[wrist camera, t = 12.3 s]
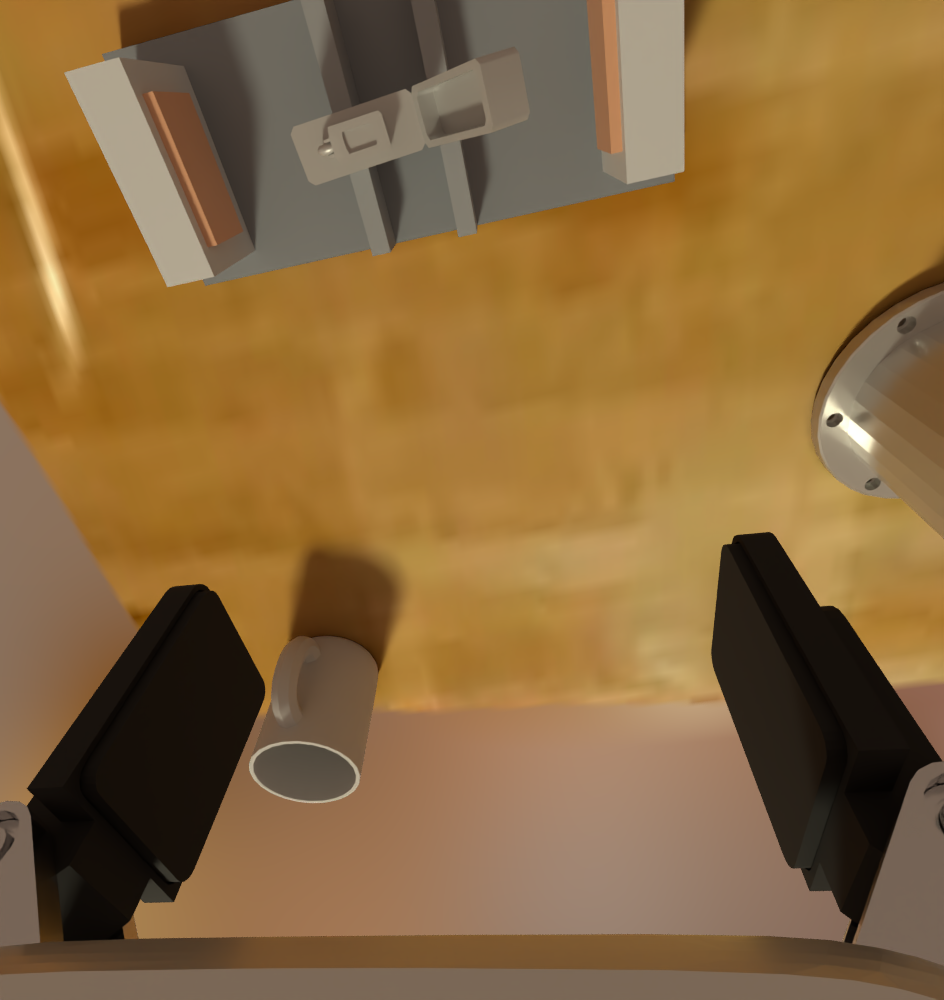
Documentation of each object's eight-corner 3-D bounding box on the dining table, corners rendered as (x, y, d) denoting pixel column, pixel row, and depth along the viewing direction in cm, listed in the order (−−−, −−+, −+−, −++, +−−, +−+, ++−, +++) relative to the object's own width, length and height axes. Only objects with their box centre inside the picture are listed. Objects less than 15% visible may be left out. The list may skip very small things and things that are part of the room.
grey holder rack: (660, -95, 21) (721, -162, 16) (665, 177, 26) (712, 196, 21) (121, 57, 24) (18, 42, 19) (217, 277, 29) (157, 316, 24)
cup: (307, 699, 48) (276, 807, 40) (256, 614, 42) (208, 722, 35) (391, 688, 47) (374, 797, 40) (349, 599, 41) (321, 706, 34)
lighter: (323, 178, 23) (295, 197, 17) (304, 128, 22) (267, 128, 16) (493, 121, 23) (535, 118, 16) (481, 68, 22) (521, 42, 15)
